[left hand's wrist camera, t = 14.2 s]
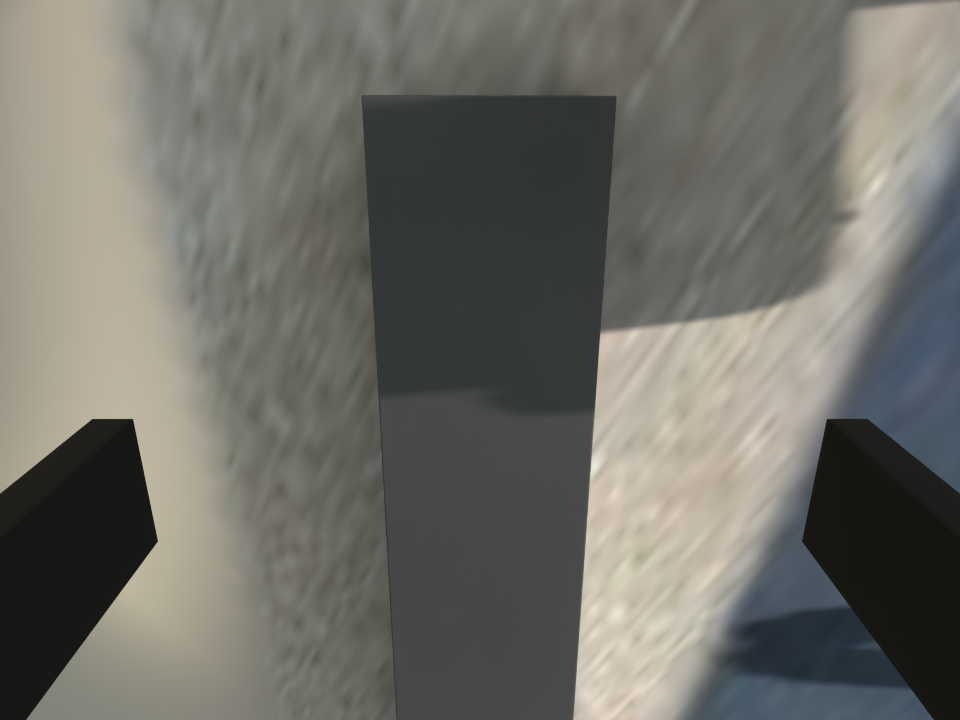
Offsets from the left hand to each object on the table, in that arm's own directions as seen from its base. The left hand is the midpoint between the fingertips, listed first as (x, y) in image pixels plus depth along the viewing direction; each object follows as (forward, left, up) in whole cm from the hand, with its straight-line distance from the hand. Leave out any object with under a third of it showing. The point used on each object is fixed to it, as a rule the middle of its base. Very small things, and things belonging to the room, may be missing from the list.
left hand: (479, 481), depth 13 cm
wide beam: (+19, +14, -22) cm, 32 cm away
